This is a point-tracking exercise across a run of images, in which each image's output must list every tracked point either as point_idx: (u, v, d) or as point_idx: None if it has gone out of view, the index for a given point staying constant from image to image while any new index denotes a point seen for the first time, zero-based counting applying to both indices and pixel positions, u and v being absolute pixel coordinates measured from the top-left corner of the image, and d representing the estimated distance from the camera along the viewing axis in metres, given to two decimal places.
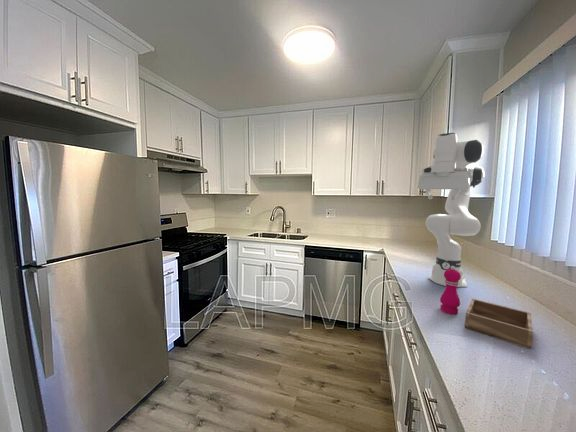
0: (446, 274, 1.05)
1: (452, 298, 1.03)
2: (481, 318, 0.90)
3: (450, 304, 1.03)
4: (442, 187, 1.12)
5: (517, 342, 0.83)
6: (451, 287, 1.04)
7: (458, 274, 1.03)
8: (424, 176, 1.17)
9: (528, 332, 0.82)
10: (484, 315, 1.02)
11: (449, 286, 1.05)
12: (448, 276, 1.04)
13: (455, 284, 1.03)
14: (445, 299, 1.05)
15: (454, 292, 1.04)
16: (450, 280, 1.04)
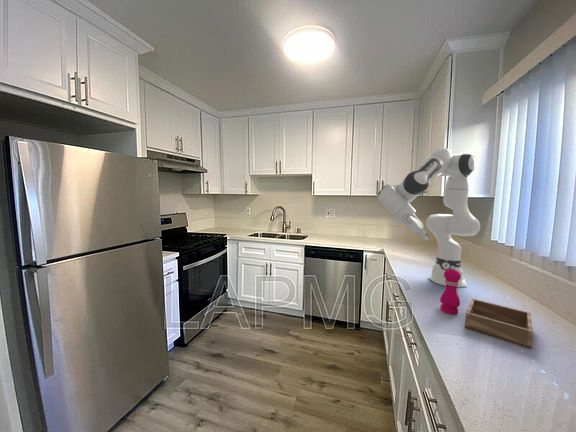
0: (446, 274, 1.05)
1: (452, 298, 1.03)
2: (481, 318, 0.90)
3: (450, 304, 1.03)
4: None
5: (517, 342, 0.83)
6: (451, 287, 1.04)
7: (458, 274, 1.03)
8: None
9: (528, 332, 0.82)
10: (484, 315, 1.02)
11: (449, 286, 1.05)
12: (448, 276, 1.04)
13: (455, 284, 1.03)
14: (445, 299, 1.05)
15: (454, 292, 1.04)
16: (450, 280, 1.04)
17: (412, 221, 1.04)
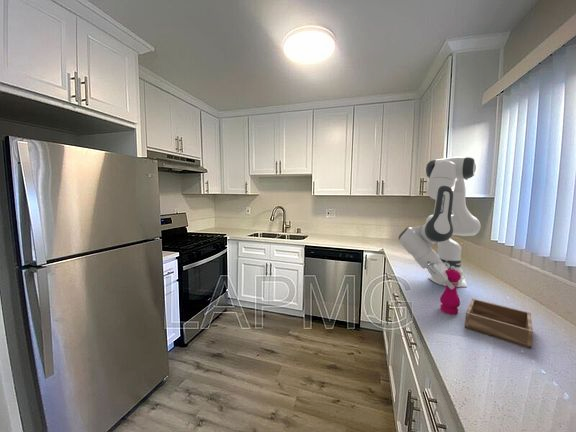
0: None
1: (452, 298, 1.03)
2: (481, 318, 0.90)
3: (450, 304, 1.03)
4: None
5: (517, 342, 0.83)
6: None
7: (458, 274, 1.03)
8: None
9: (528, 332, 0.82)
10: (484, 315, 1.02)
11: None
12: (448, 276, 1.04)
13: (455, 284, 1.03)
14: (445, 299, 1.05)
15: (454, 292, 1.04)
16: (450, 280, 1.04)
17: (437, 271, 1.00)
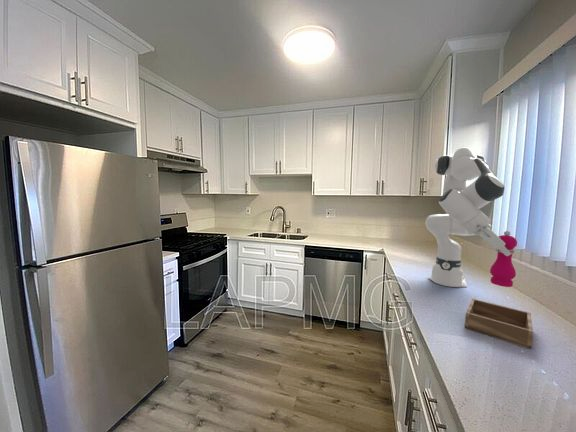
0: None
1: (507, 268, 0.89)
2: (481, 318, 0.90)
3: (505, 274, 0.89)
4: None
5: (517, 342, 0.83)
6: None
7: (514, 240, 0.88)
8: None
9: (528, 332, 0.82)
10: (484, 315, 1.02)
11: (503, 254, 0.90)
12: None
13: (511, 252, 0.89)
14: (498, 270, 0.90)
15: (509, 261, 0.89)
16: None
17: (492, 234, 0.85)
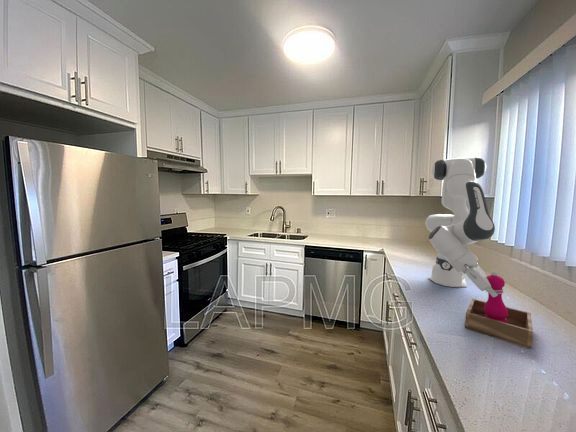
0: None
1: (499, 308, 0.92)
2: (481, 318, 0.90)
3: (498, 314, 0.92)
4: None
5: (517, 342, 0.83)
6: None
7: (502, 280, 0.92)
8: None
9: (528, 332, 0.82)
10: (484, 315, 1.02)
11: None
12: (491, 283, 0.93)
13: (500, 292, 0.92)
14: (491, 310, 0.94)
15: (500, 301, 0.93)
16: (493, 288, 0.93)
17: (478, 275, 0.88)
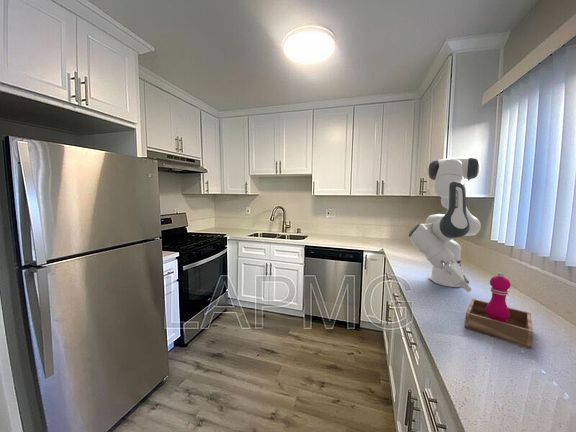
0: (493, 282, 0.94)
1: (501, 310, 0.92)
2: (481, 318, 0.90)
3: (499, 315, 0.92)
4: None
5: (517, 342, 0.83)
6: (500, 296, 0.93)
7: (508, 282, 0.92)
8: None
9: (528, 332, 0.82)
10: (484, 315, 1.02)
11: (497, 295, 0.93)
12: (497, 284, 0.92)
13: (504, 293, 0.92)
14: (493, 310, 0.93)
15: (503, 302, 0.93)
16: (498, 289, 0.93)
17: (452, 271, 0.92)
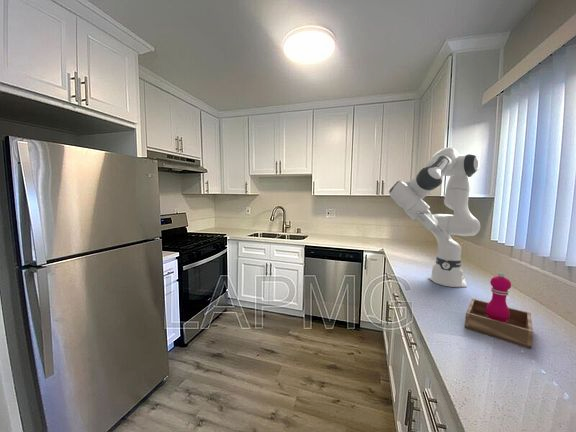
0: (494, 282, 0.93)
1: (501, 310, 0.92)
2: (481, 318, 0.90)
3: (499, 315, 0.92)
4: None
5: (517, 342, 0.83)
6: (500, 297, 0.93)
7: (509, 282, 0.91)
8: None
9: (528, 332, 0.82)
10: (484, 315, 1.02)
11: (497, 296, 0.93)
12: (497, 284, 0.92)
13: (505, 293, 0.92)
14: (493, 311, 0.93)
15: (503, 302, 0.92)
16: (499, 289, 0.93)
17: (426, 218, 1.01)
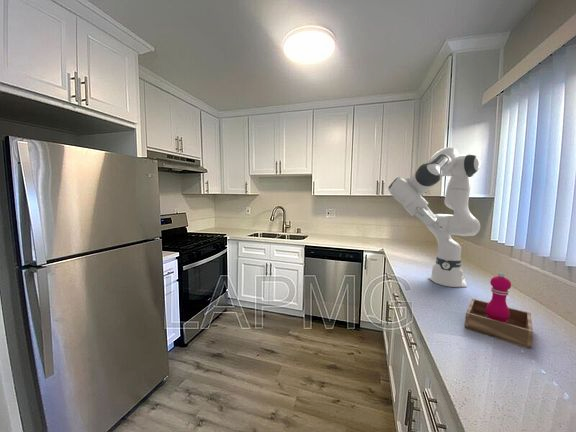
0: (494, 282, 0.93)
1: (501, 310, 0.92)
2: (481, 318, 0.90)
3: (499, 315, 0.92)
4: None
5: (517, 342, 0.83)
6: (500, 297, 0.93)
7: (508, 282, 0.91)
8: None
9: (528, 332, 0.82)
10: (484, 315, 1.02)
11: (497, 295, 0.93)
12: (497, 284, 0.92)
13: (505, 293, 0.92)
14: (493, 311, 0.93)
15: (503, 302, 0.93)
16: (499, 289, 0.93)
17: (425, 213, 1.02)
